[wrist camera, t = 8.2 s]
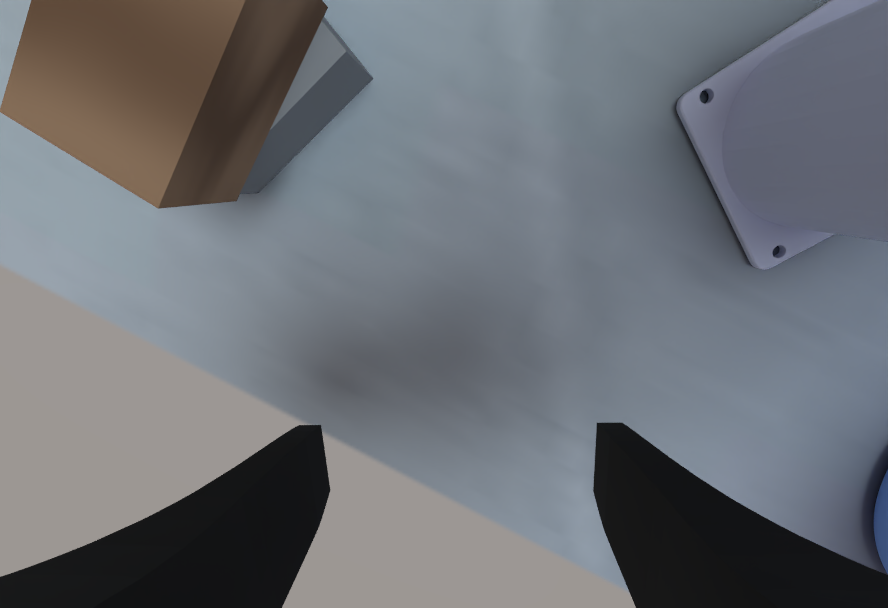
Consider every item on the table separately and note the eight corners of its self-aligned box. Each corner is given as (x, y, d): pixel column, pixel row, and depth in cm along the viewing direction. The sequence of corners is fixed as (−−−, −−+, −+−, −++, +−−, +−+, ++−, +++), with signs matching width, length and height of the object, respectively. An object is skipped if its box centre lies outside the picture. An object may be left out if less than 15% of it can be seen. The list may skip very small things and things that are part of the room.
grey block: (296, -18, 17) (244, -75, 13) (374, 79, 18) (346, 51, 14) (184, 109, 19) (108, 91, 15) (259, 192, 19) (206, 196, 15)
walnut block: (198, -82, 13) (85, -189, 9) (328, 7, 14) (270, -61, 10) (120, 128, 15) (-1, 111, 11) (236, 200, 15) (157, 208, 12)
